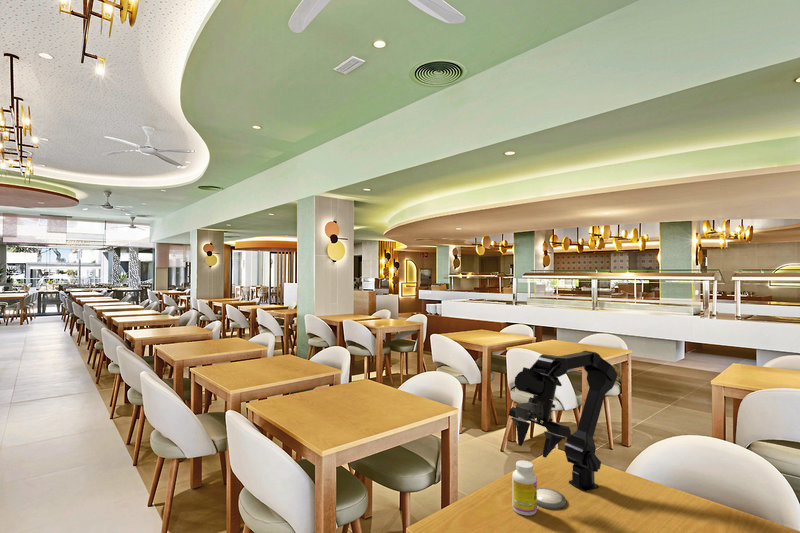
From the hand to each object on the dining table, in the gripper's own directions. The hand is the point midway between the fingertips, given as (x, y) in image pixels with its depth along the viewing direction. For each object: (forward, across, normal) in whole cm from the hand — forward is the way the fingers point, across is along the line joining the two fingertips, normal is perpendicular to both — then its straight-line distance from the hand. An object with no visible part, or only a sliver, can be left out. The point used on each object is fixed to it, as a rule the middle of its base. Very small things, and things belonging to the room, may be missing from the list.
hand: (531, 451), depth 120 cm
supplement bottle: (+16, +1, +1) cm, 16 cm away
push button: (+12, 0, +10) cm, 16 cm away
